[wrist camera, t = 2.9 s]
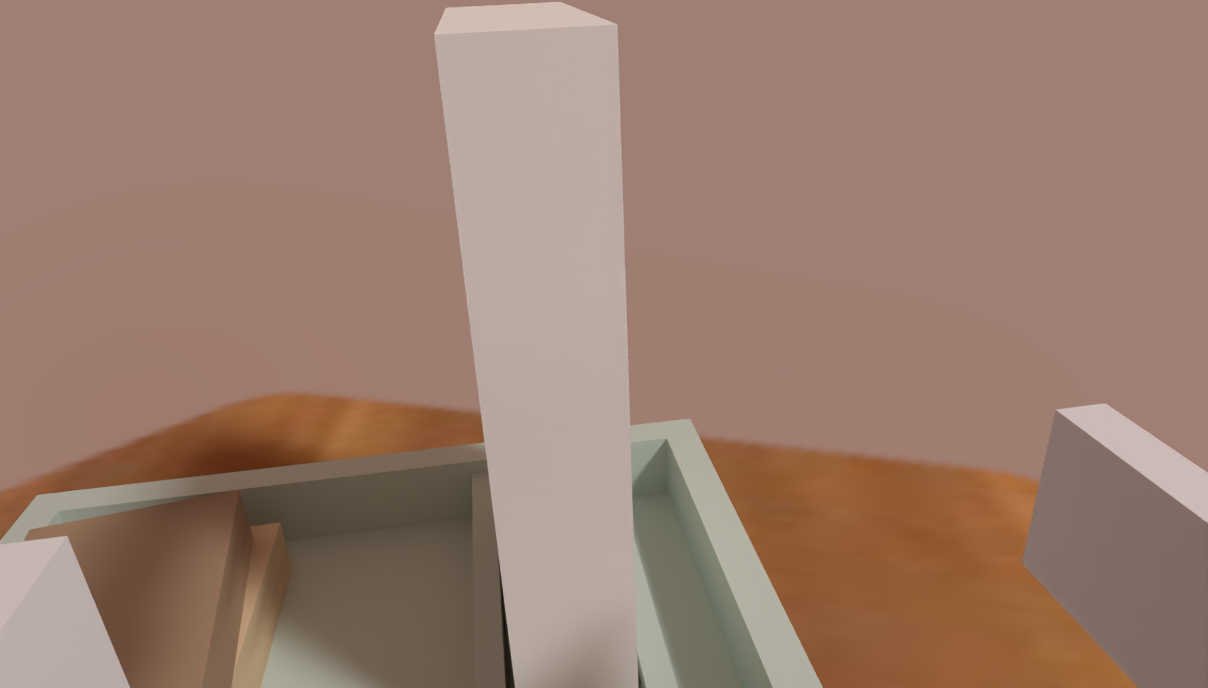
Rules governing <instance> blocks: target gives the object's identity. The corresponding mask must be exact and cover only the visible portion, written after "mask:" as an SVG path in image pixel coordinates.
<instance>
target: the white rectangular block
mask: <svg viewBox="0 0 1208 688" xmlns="http://www.w3.org/2000/svg"><path fill="white" fill-rule="evenodd" d="M434 39H435V47H436V54H437V62H438V71H439V79H440V87H441V95H442V103H443V111H444V119H445V127H446V135H447V143H448V151H449V160H450V168H451V175H452V184H453V192H454V199H455V208H456V216H457V224H458V232H459V240H460V248H461V256H462V264H463V272H464V280H465V289H466V297H467V305H468V312H469V320H470V329H471V337H472V345H473V353H474V361H475V369H476V377H477V385H478V393H479V401H480V409H481V418H482V426H483V434H484V442H485V450H486V458H487V466H488V474H489V482H490V490H491V498H492V506H493V514H494V522H495V530H496V539H497V547H498V555H499V563H500V571H501V579H502V587H503V595H504V603H505V611H506V619H507V627H508V635H509V643H510V651H511V659H512V668H513V676H514V684H515V688H638V660H637V628H636V597H635V565H634V534H633V502H632V471H631V439H630V411H629V410H630V408H629V381H628V380H629V376H628V347H627V346H628V345H627V315H626V284H625V253H624V252H625V251H624V219H623V188H622V156H621V126H620V93H619V62H618V31H617V24H615V23H612V22H610V21H607V20H605V19H602V18H600V17H597V16H595V15H592V14H589V13H587V12H584V11H582V10H579V9H577V8H574V7H572V6H569V5H567V4H564V3H562V2H551V3H532V4H513V5H493V6H473V7H455V8H446V10H445V12H444V14H443V16H442V18H441V21H440V23H439V25H438V27H437V29H436V31H435V34H434Z"/></svg>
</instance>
